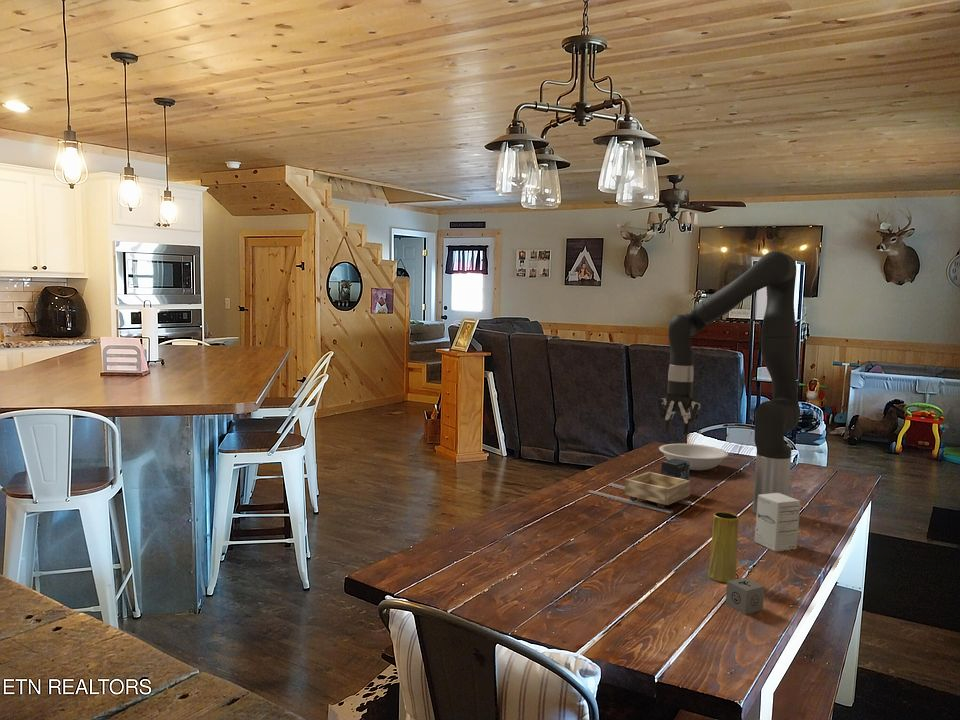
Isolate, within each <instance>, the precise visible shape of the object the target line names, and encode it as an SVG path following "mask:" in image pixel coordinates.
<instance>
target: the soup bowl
mask: <svg viewBox="0 0 960 720" xmlns="http://www.w3.org/2000/svg"><path fill="white" fill-rule="evenodd" d="M658 449H659V452H661V453H662V454H663V455H664V457H665V458H666V459H667V460H670V459H674V458H676V459H681V460H685V461H689V462H690V468H689V471H690V470H691V471H706V470H707V471H708V470H711V469H713V468H715V467H717V466H718V465H720V464H721V463H722V461H723V460H724V459H727V458H728V457H729V453H728V452H727V451H726V450H724V449H722V448H717V447H714V446H709V445H705V444H703V445H702V444H694V443H669V444H663V445H660V446H659V447H658ZM667 460H666V461H667Z"/></svg>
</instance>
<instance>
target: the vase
mask: <svg viewBox="0 0 960 720" xmlns="http://www.w3.org/2000/svg"><path fill="white" fill-rule="evenodd" d="M711 532H712V533H711V534H712V535H711V548H710V555H709V562H708V570H707V577H708V578H709V579H711V580H713V581H715V582H719V583H726V584H727V581H731V580H735V579H737V564H738V560H737V558H738V533H739V515H737V514H735V513H731V512H728V511H716V512H714V513H713V516H712V531H711Z"/></svg>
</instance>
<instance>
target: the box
mask: <svg viewBox="0 0 960 720" xmlns="http://www.w3.org/2000/svg"><path fill="white" fill-rule="evenodd" d="M689 468H690V462H689V461H685V460H681V459H676V458H674V459H670V460H662V462H661V468H660V469H661V471H660V474H662V475H666V476H671V477H676V478H680V479H685V480H689V479H690V470H689Z"/></svg>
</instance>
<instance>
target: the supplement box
mask: <svg viewBox="0 0 960 720" xmlns="http://www.w3.org/2000/svg"><path fill="white" fill-rule="evenodd" d="M801 502H802V501H801V500H799V499H798V498H797V499H796V498H793V497H789V496H786V495H783V494H781V493H770V494H761V495H758V503H757V514H756V515H755V516H756V519H755V530H754V531H755V532H754V543H757V544H759V545H761V546H763V547H765V548H767V549H768V550H771V551H772V552H785V551H790V550H791V549H793V550H796V549H797V548H798V547H797V546H798V538H799V537H798V536H799V535H798V534H799V526H800V525H799V524H800V523H799V522H800V513H801ZM784 550H785V551H784Z"/></svg>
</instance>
